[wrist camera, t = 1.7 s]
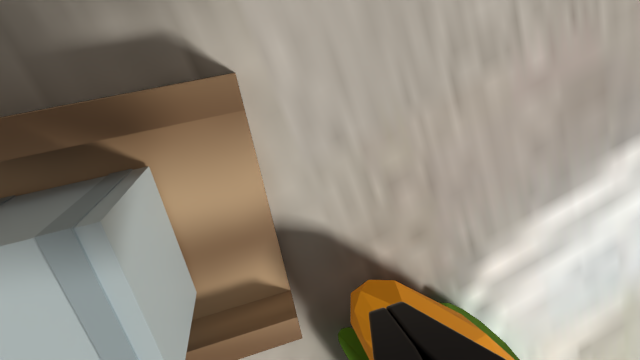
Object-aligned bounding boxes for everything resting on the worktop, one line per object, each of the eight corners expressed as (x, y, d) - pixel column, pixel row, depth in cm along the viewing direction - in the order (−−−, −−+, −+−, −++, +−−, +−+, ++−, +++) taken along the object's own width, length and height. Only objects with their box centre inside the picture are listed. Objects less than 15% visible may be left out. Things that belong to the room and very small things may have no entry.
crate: (197, 293, 15) (179, 397, 10) (50, 336, 14) (-45, 473, 9) (148, 164, 13) (97, 221, 8) (-29, 204, 12) (-206, 296, 7)
